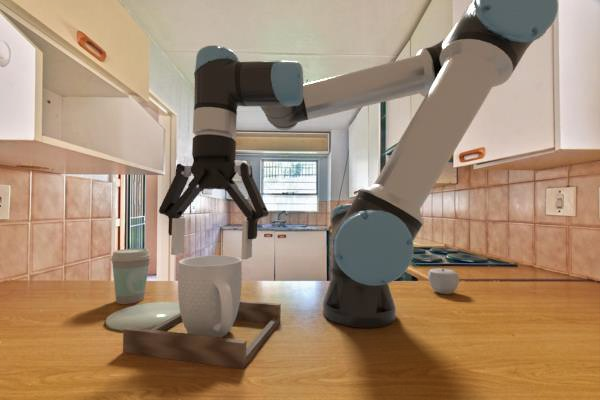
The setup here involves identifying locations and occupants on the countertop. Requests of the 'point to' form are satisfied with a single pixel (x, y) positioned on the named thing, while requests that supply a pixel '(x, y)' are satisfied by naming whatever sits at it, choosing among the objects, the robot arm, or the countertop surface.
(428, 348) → the countertop surface
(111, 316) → the trivet
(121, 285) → the coffee cup
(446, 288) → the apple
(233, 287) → the mug
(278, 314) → the frame
